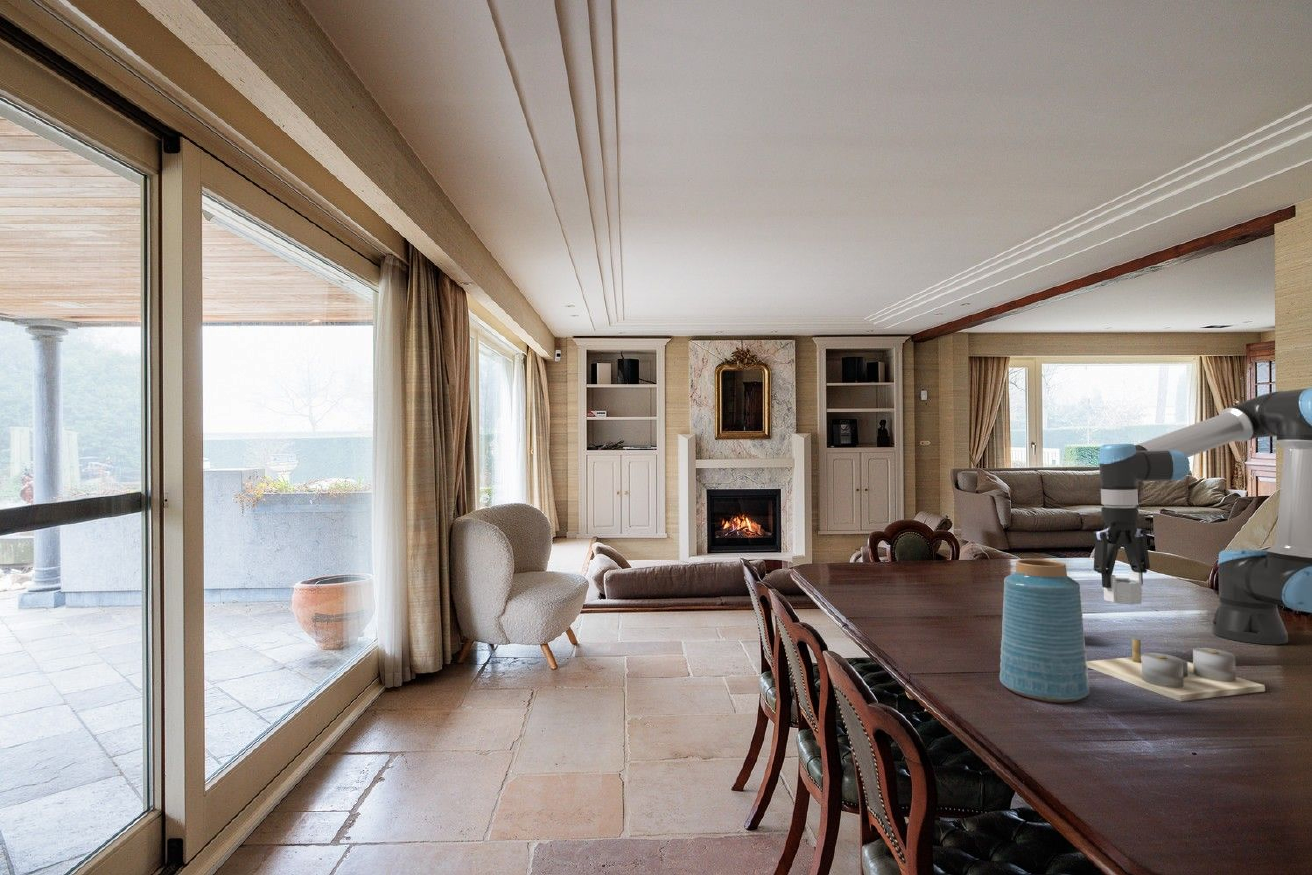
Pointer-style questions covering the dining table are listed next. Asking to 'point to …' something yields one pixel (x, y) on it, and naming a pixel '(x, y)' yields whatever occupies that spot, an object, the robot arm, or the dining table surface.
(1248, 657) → the dining table surface
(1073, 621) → the vase
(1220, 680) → the carrier
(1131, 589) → the octagonal tube
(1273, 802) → the dining table surface
